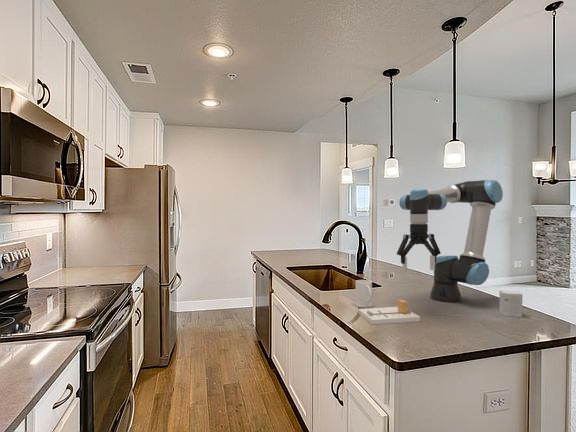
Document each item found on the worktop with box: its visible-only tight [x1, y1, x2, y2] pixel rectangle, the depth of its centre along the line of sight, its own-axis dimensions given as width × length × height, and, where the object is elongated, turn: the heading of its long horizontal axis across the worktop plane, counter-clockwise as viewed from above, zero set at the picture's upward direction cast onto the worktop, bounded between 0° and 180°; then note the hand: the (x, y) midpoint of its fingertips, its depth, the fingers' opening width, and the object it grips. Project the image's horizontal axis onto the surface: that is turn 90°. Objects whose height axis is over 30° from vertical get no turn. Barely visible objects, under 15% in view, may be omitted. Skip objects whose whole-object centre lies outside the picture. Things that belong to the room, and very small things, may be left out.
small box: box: [498, 289, 523, 318], centre depth 160 cm, size 8×6×10 cm
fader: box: [397, 299, 408, 313], centre depth 158 cm, size 2×4×5 cm, turn 10°
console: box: [357, 306, 421, 325], centre depth 157 cm, size 22×16×3 cm
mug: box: [354, 279, 373, 308], centre depth 176 cm, size 12×8×12 cm
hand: (418, 270), depth 159 cm, fingers open, 13 cm apart
